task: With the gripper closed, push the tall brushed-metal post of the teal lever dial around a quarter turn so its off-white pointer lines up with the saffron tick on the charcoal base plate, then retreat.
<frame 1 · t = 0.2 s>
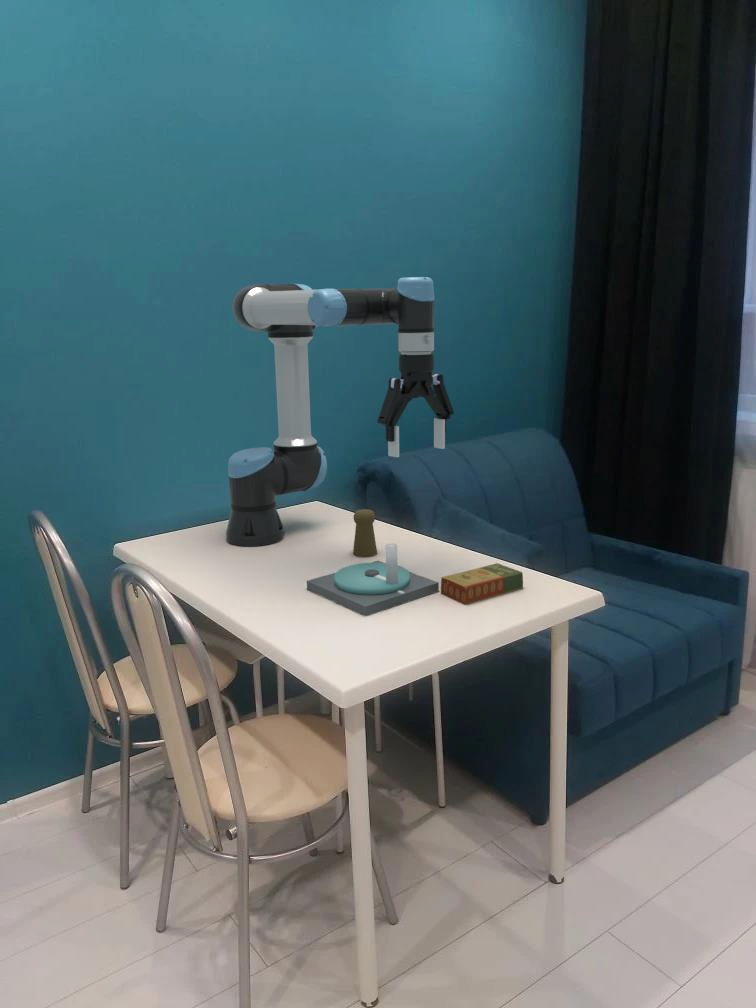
hand: (417, 452, 170), 28 cm above the table, fingers open, 13 cm apart
base plate: (372, 590, 167), on the table
carton: (482, 593, 165), on the table
cork: (365, 554, 192), on the table
dial: (371, 560, 165), point 7 cm above the table, hinge at 0.0°
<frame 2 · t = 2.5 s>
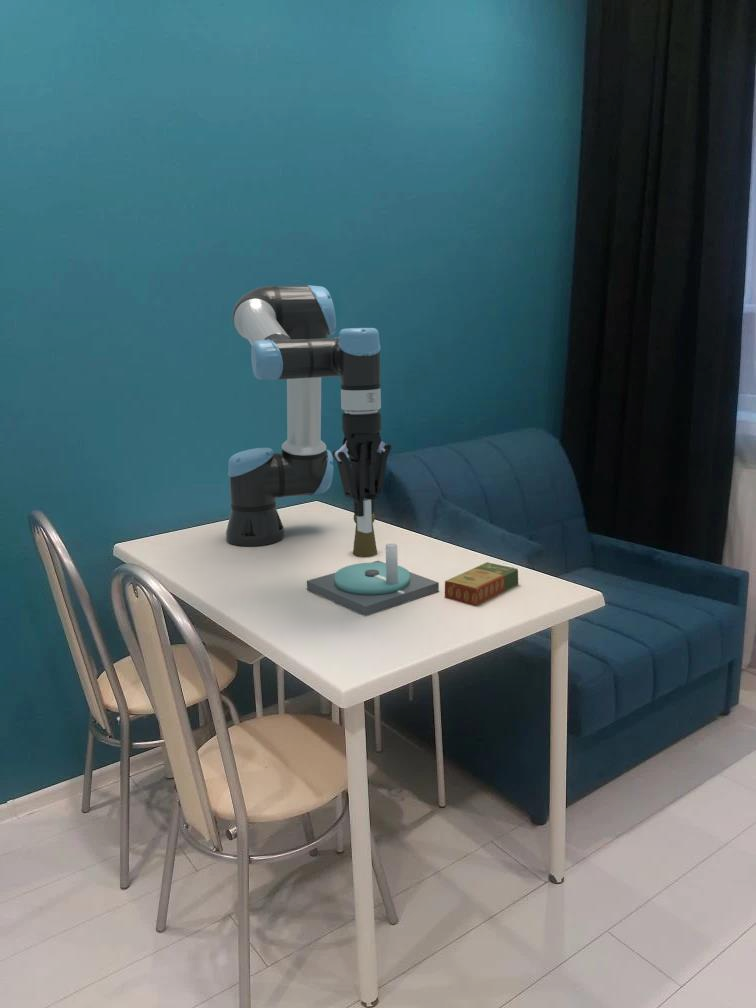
hand: (364, 531, 153), 16 cm above the table, fingers closed
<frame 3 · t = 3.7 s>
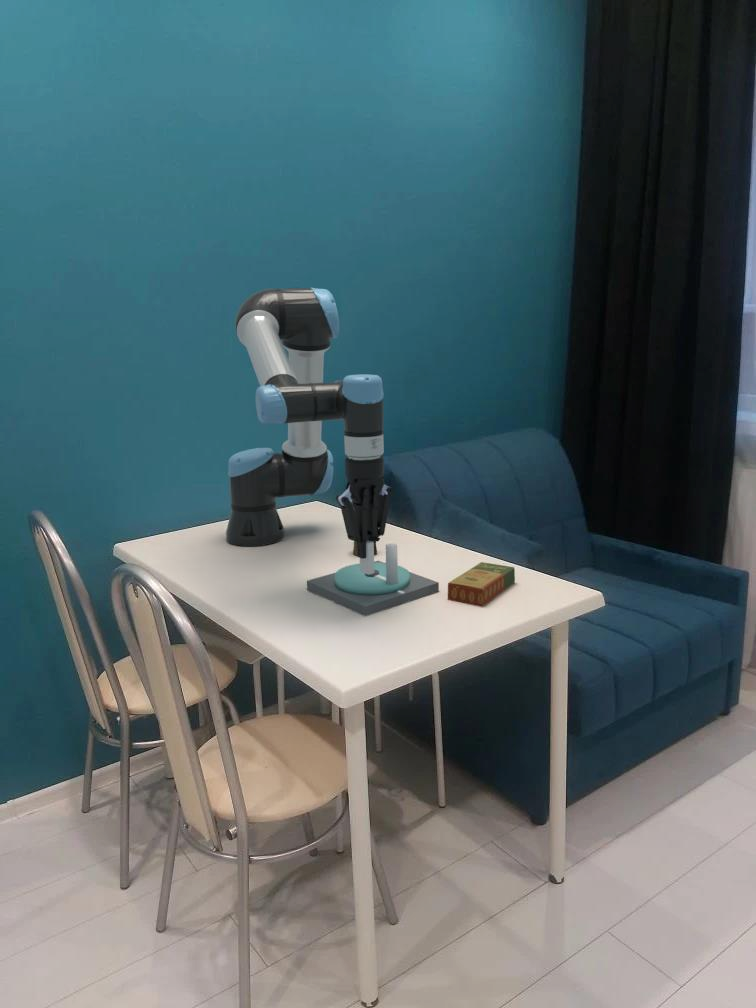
hand: (367, 572, 156), 7 cm above the table, fingers closed
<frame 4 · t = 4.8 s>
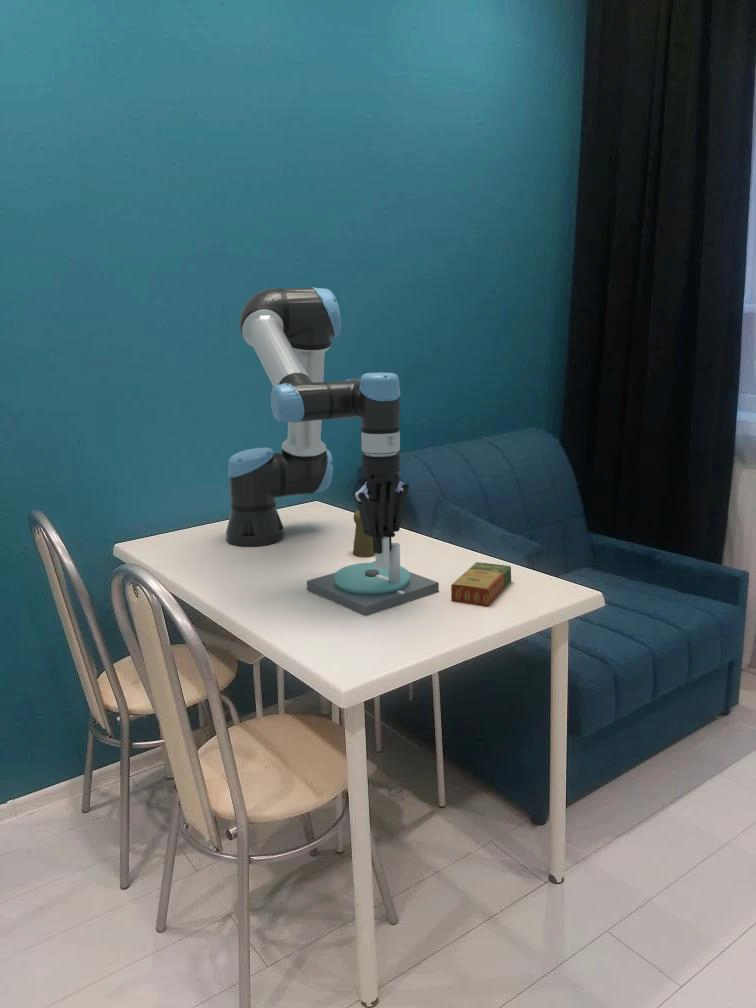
hand: (382, 567, 158), 7 cm above the table, fingers closed
dial: (371, 560, 165), point 7 cm above the table, hinge at 6.4°, touching gripper
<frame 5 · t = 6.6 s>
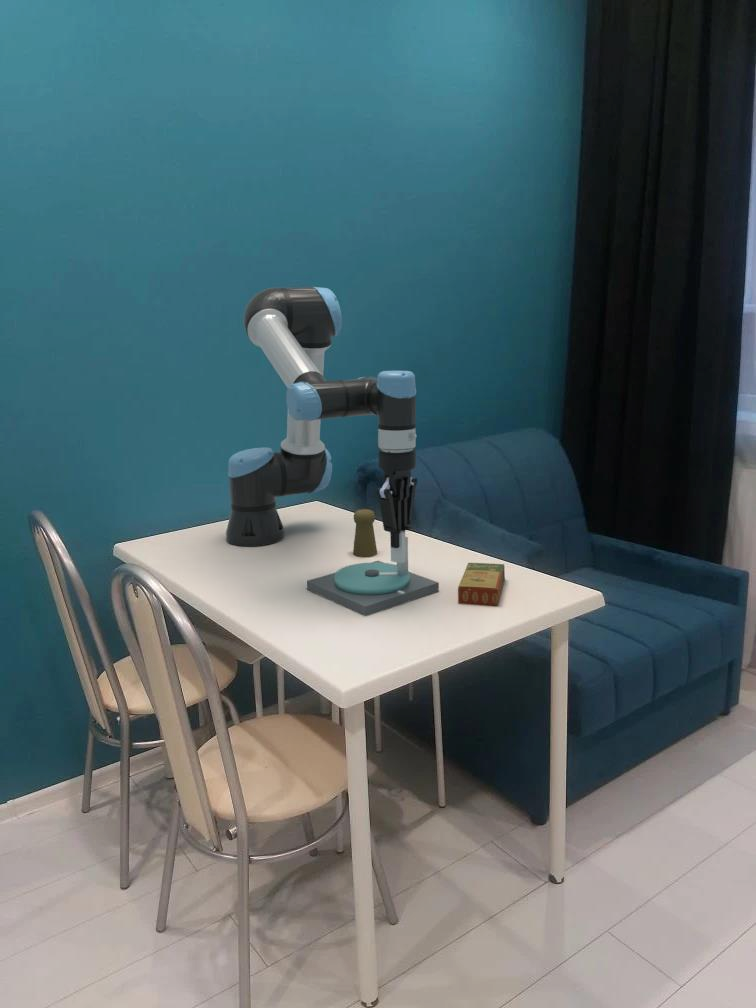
hand: (398, 561, 162), 8 cm above the table, fingers closed
dial: (371, 560, 165), point 7 cm above the table, hinge at 51.4°, touching gripper
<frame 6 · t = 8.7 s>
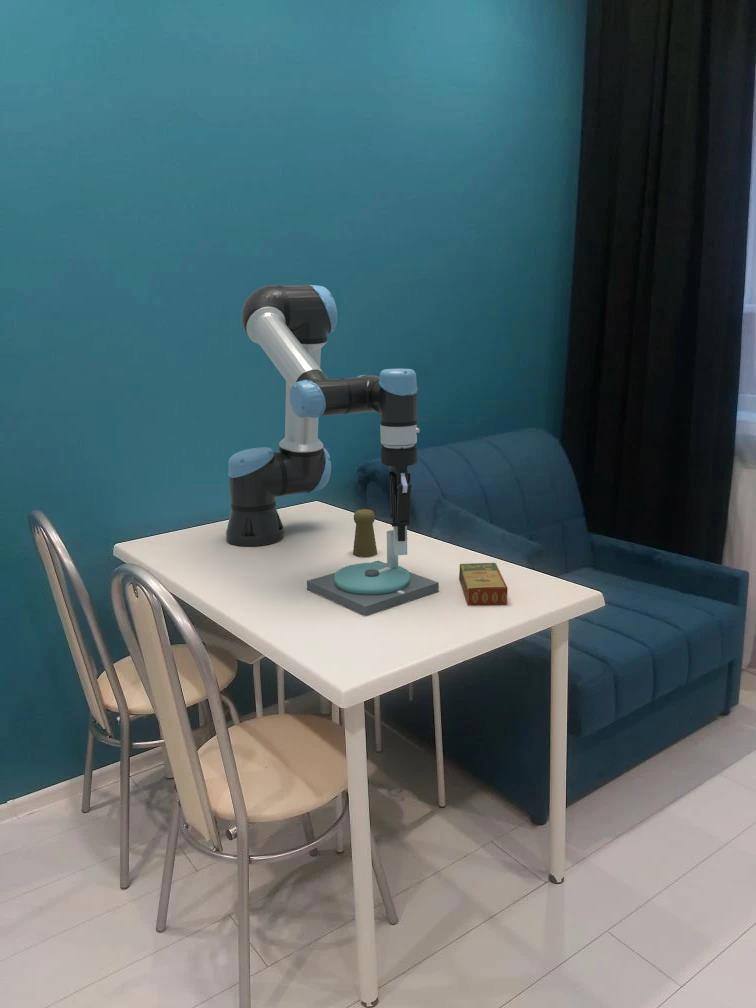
hand: (400, 553, 166), 8 cm above the table, fingers closed
dial: (371, 560, 165), point 7 cm above the table, hinge at 96.4°
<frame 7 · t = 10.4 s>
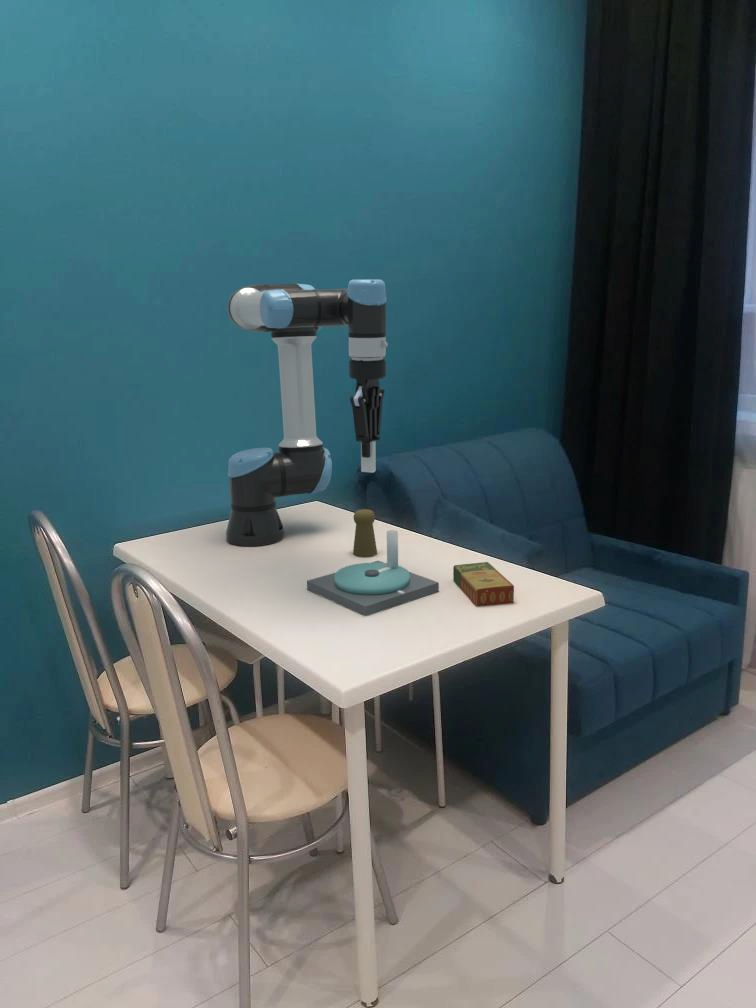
hand: (368, 471, 165), 25 cm above the table, fingers closed
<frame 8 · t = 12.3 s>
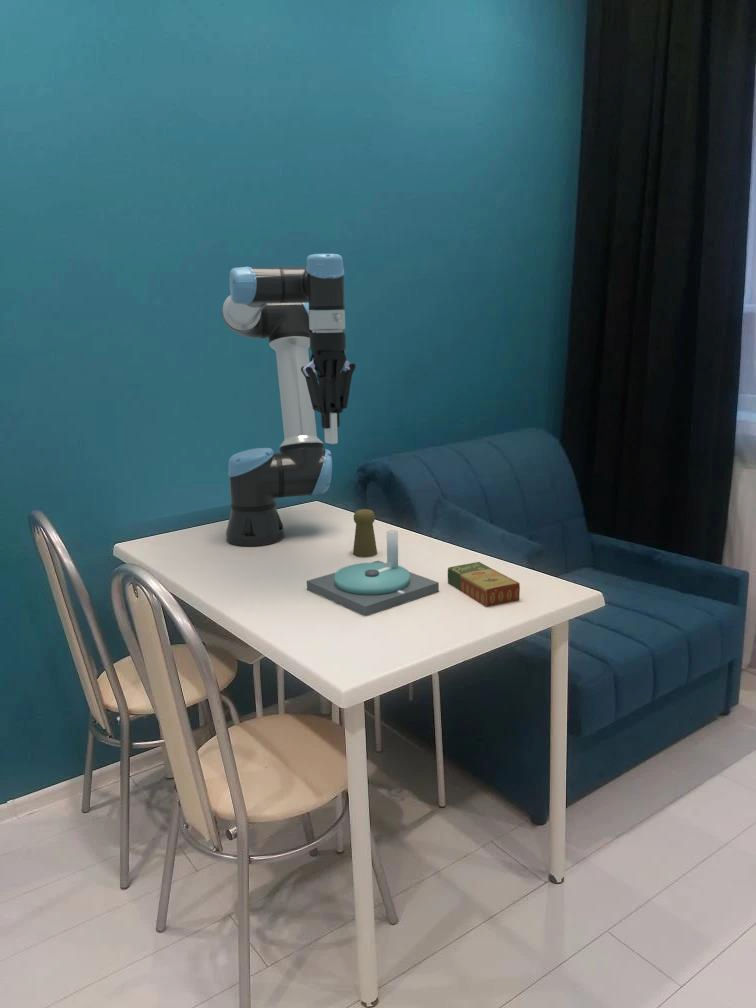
hand: (331, 442, 169), 30 cm above the table, fingers closed
at the end: dial at +96° (first picture: +0°); dial touching nothing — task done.
